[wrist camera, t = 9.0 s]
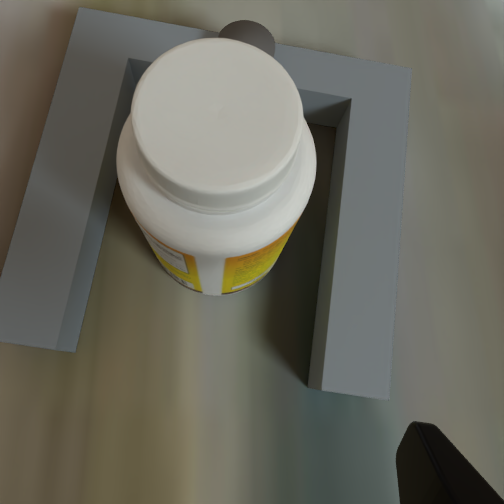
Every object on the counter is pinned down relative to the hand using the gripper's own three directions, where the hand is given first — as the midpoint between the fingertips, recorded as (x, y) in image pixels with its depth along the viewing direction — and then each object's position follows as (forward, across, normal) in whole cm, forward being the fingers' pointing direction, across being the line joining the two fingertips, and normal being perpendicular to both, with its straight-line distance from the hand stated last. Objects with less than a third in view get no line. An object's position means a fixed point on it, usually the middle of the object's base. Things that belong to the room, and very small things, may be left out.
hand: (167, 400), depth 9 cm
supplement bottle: (+12, 0, +3) cm, 13 cm away
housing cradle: (+13, 0, +2) cm, 13 cm away
